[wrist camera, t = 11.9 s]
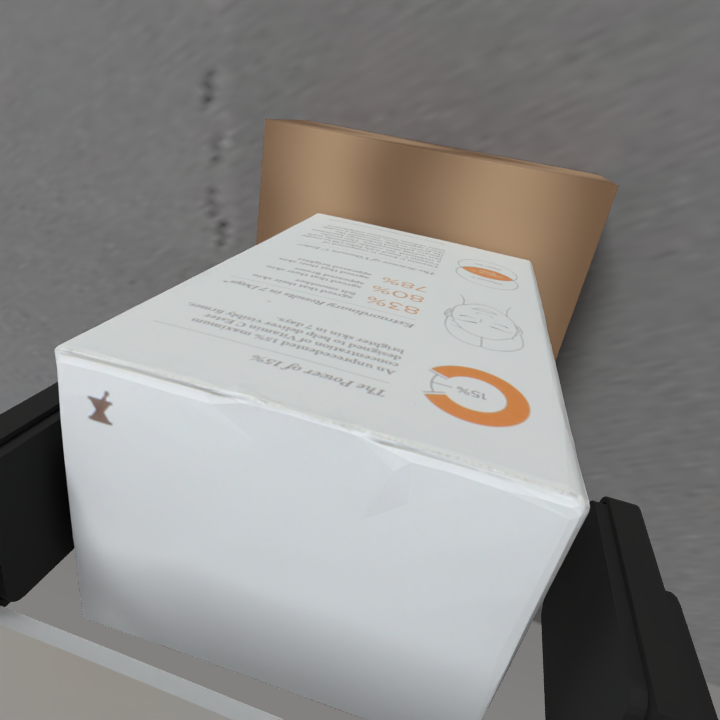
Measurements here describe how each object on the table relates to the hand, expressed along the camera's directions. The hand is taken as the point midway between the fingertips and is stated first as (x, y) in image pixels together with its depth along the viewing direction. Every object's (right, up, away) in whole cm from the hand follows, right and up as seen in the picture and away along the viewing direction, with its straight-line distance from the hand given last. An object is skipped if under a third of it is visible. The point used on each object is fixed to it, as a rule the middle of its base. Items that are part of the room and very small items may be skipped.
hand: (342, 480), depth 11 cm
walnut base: (+3, +6, +13) cm, 14 cm away
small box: (+2, +4, +10) cm, 11 cm away
